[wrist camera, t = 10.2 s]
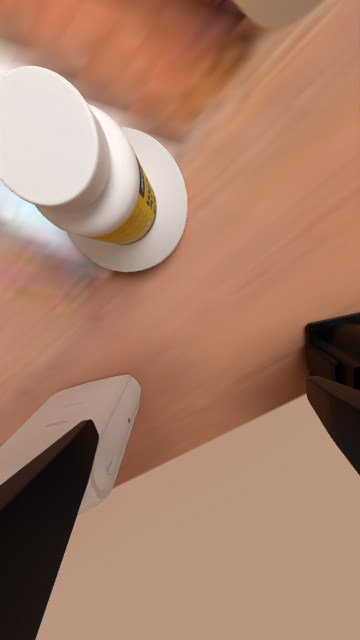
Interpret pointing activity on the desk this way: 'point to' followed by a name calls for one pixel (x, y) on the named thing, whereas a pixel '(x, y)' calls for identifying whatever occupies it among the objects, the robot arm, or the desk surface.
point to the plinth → (168, 217)
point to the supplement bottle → (71, 159)
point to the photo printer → (65, 413)
